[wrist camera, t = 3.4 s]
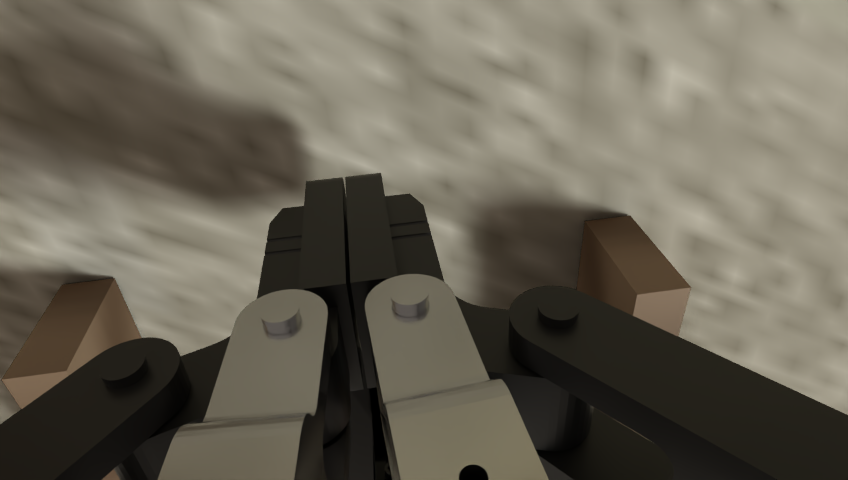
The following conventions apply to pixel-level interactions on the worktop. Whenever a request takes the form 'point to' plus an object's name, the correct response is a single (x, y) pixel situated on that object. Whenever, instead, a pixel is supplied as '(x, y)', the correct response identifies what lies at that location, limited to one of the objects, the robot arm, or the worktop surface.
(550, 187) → the worktop surface
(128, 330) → the walnut lane
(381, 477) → the black block
